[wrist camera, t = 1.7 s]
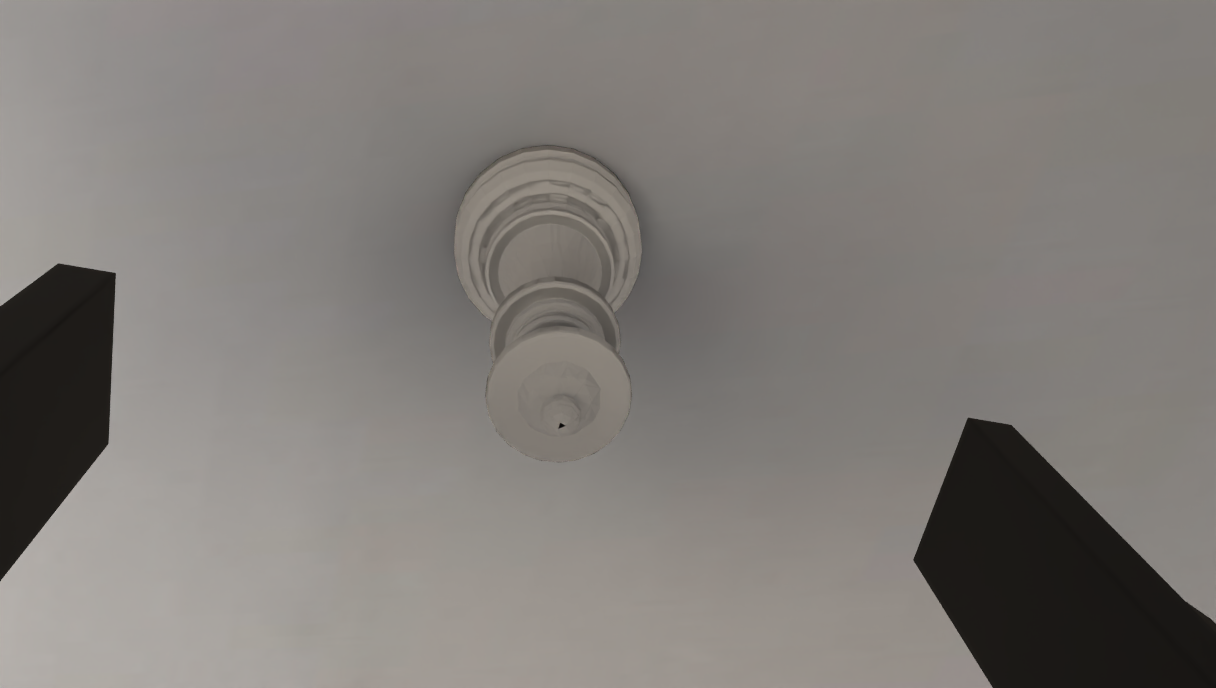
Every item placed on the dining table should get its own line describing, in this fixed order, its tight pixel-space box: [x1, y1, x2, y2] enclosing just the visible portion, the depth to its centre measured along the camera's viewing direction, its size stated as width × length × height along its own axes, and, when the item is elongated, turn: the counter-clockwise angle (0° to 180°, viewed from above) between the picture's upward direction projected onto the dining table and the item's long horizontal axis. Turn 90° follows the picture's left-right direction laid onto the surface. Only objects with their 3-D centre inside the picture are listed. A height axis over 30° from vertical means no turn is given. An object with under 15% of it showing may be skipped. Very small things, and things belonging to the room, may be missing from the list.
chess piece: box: [454, 145, 642, 462], centre depth 20 cm, size 4×4×10 cm
